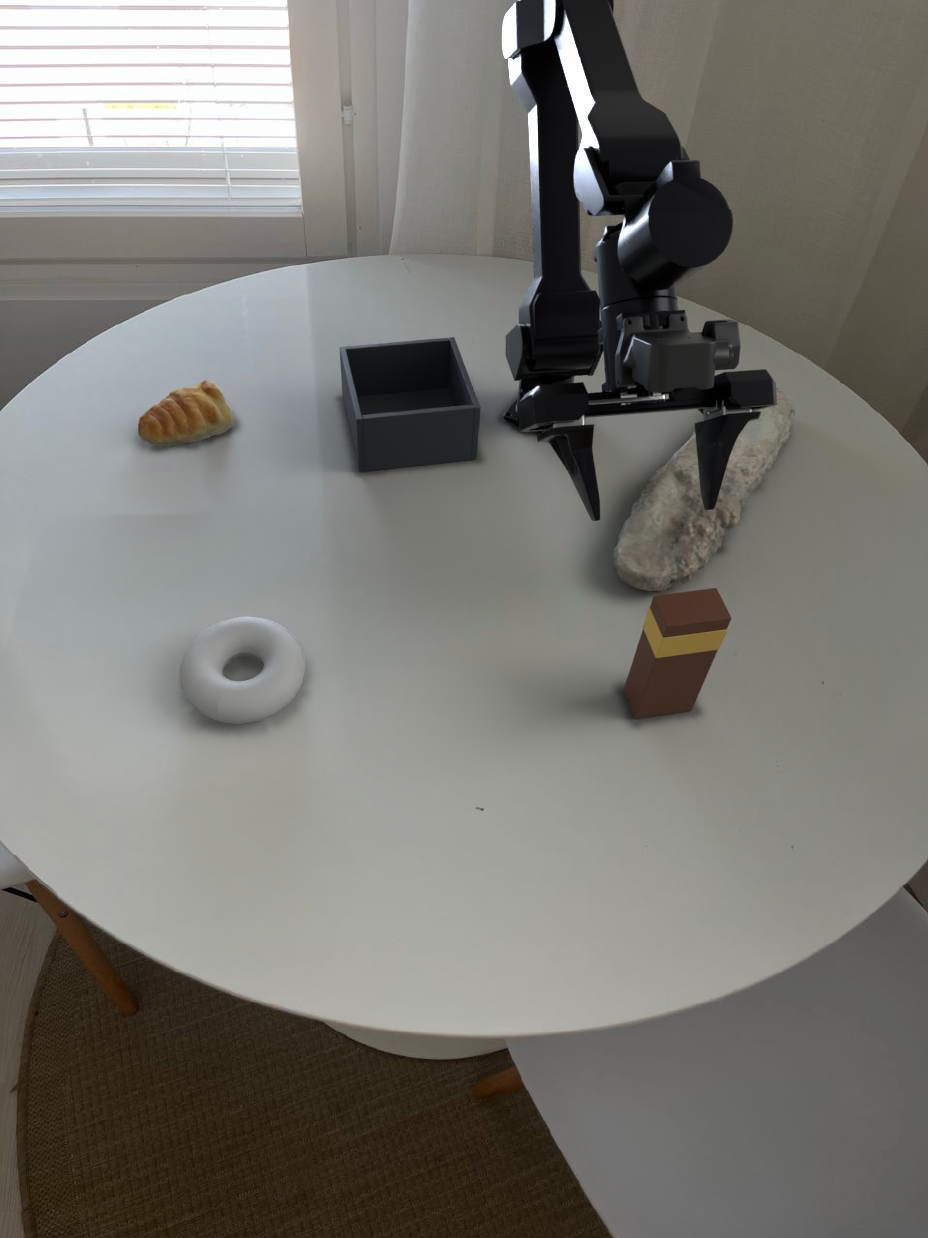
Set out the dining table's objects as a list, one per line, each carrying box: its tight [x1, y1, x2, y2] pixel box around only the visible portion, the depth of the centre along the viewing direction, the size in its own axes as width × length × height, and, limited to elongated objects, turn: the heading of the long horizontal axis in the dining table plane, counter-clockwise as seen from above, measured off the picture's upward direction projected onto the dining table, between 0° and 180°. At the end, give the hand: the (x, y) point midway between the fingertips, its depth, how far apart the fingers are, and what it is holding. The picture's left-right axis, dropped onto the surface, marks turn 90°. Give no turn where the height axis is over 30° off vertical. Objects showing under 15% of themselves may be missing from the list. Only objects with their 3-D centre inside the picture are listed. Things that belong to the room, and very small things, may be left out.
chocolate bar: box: [623, 587, 732, 720], centre depth 71 cm, size 3×5×12 cm, turn 102°
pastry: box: [137, 380, 235, 448], centre depth 93 cm, size 9×7×4 cm
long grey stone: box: [612, 387, 796, 592], centre depth 91 cm, size 35×5×10 cm
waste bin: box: [338, 336, 482, 473], centre depth 94 cm, size 12×12×7 cm
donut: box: [179, 615, 307, 725], centre depth 73 cm, size 10×4×10 cm
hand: (653, 515), depth 70 cm, fingers open, 9 cm apart
